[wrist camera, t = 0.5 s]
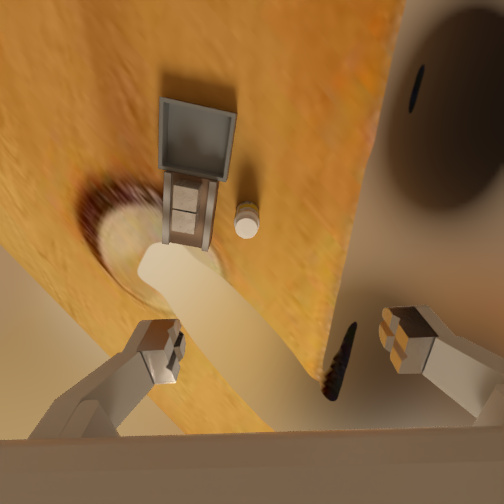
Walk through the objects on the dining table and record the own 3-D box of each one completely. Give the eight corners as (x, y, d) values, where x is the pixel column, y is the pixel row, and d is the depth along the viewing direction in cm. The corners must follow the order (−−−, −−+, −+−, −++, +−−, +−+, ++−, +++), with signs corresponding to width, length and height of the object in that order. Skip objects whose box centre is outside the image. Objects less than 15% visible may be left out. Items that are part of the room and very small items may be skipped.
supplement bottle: (248, 226, 54) (247, 245, 47) (231, 212, 52) (227, 229, 45) (264, 210, 52) (265, 227, 45) (246, 195, 51) (244, 210, 43)
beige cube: (179, 179, 45) (173, 184, 42) (202, 183, 46) (198, 189, 42) (178, 200, 47) (172, 208, 44) (200, 204, 47) (195, 212, 44)
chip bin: (166, 97, 43) (159, 96, 40) (237, 113, 44) (236, 113, 41) (164, 164, 48) (158, 168, 45) (227, 177, 49) (225, 182, 46)
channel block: (172, 166, 48) (164, 172, 44) (220, 176, 49) (216, 182, 44) (169, 232, 55) (162, 243, 50) (211, 240, 56) (207, 251, 51)
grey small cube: (178, 202, 47) (172, 209, 44) (200, 206, 48) (195, 214, 44) (177, 221, 49) (171, 230, 46) (198, 225, 50) (193, 234, 46)
